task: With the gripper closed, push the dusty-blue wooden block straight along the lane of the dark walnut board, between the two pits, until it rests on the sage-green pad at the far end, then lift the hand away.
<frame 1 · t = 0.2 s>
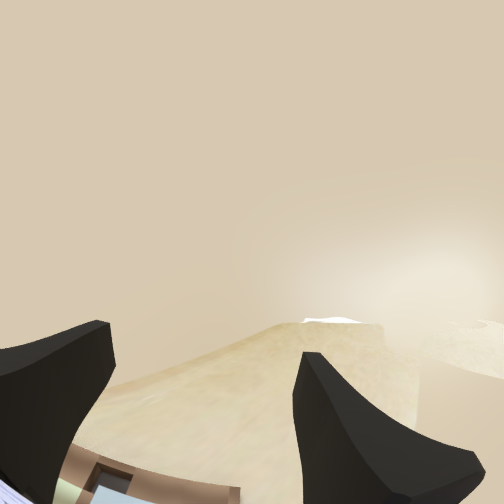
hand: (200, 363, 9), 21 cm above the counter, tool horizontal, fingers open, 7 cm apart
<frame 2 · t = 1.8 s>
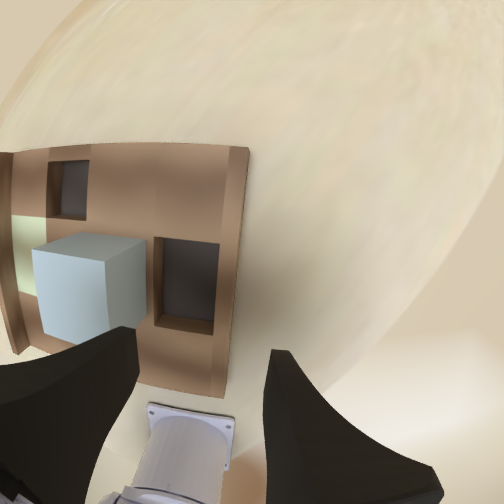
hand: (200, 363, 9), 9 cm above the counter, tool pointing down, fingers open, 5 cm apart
blue block: (111, 273, 17), point 2 cm above the counter, touching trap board
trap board: (113, 266, 19), on the counter
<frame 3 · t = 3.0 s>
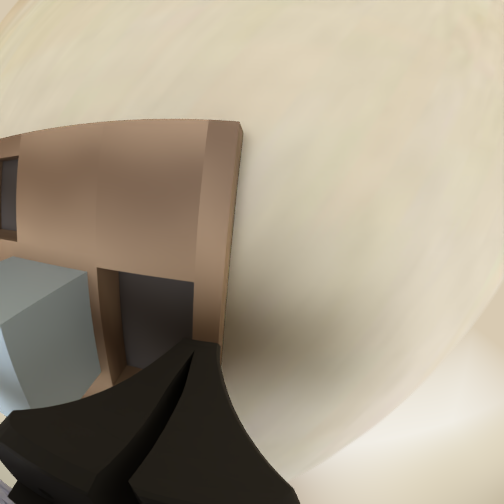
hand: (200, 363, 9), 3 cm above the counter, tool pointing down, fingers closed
blue block: (51, 314, 10), point 2 cm above the counter, touching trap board
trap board: (60, 300, 12), on the counter
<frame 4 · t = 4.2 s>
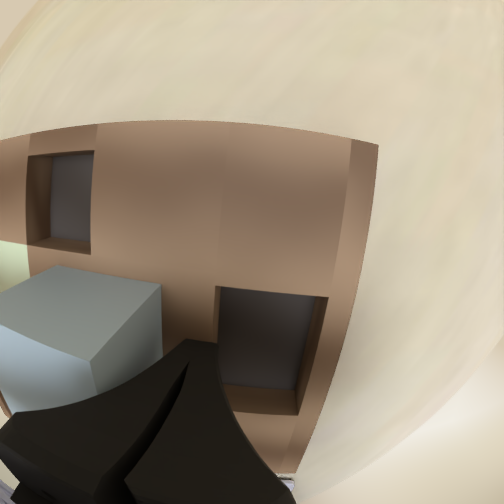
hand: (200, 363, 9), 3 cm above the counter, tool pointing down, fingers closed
blue block: (107, 330, 10), point 2 cm above the counter, touching gripper
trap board: (135, 318, 12), on the counter
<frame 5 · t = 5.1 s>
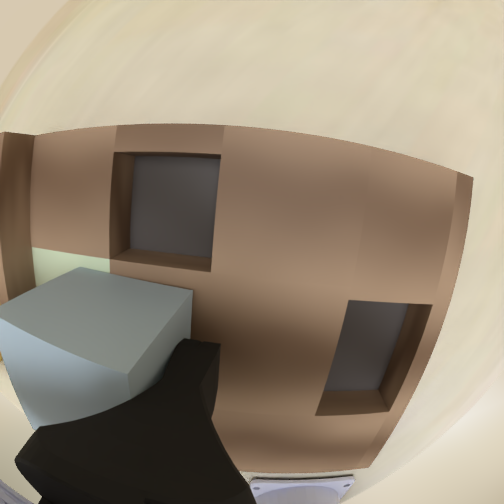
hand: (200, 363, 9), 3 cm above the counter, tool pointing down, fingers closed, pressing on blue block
blue block: (132, 335, 10), point 2 cm above the counter, touching gripper
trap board: (236, 334, 12), on the counter
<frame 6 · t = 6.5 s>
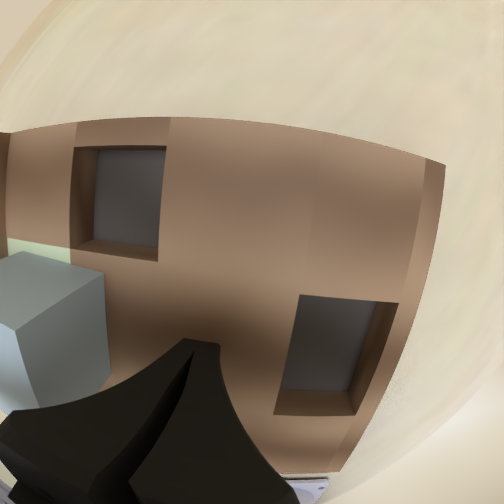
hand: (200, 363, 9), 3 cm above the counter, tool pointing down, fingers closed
blue block: (62, 313, 10), point 2 cm above the counter, touching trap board
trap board: (193, 327, 12), on the counter
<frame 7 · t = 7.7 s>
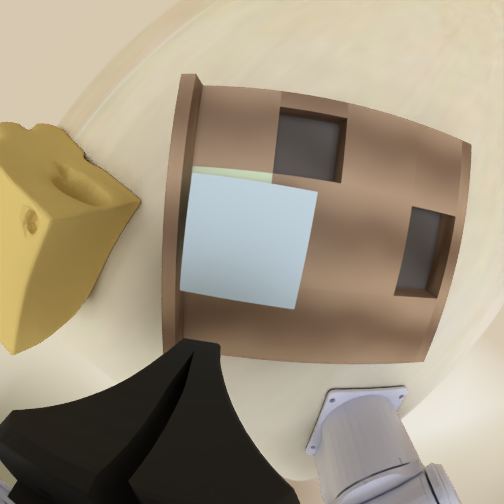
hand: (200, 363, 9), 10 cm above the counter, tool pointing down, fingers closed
blue block: (251, 225, 16), point 2 cm above the counter, touching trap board
cheese: (72, 216, 19), on the counter
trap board: (339, 238, 18), on the counter
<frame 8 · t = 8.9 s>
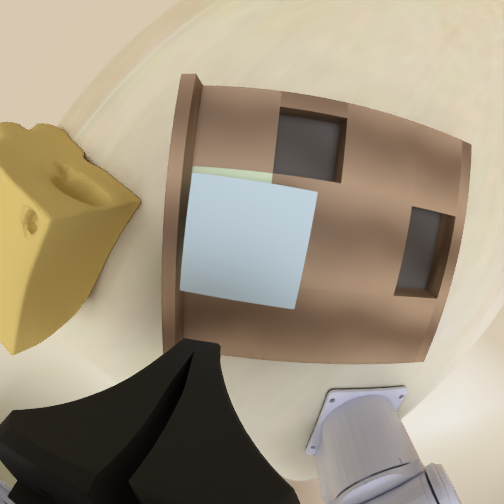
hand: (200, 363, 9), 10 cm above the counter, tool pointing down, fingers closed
blue block: (251, 225, 16), point 2 cm above the counter, touching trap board
cheese: (72, 216, 19), on the counter
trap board: (339, 238, 18), on the counter
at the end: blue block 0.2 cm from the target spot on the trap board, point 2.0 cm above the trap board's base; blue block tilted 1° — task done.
